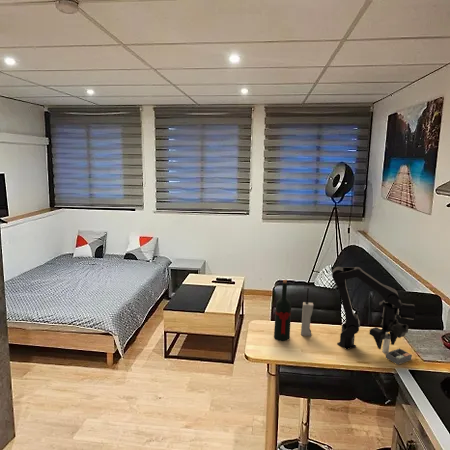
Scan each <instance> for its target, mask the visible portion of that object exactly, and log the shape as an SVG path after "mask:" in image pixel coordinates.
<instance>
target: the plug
mask: <svg viewBox="0 0 450 450" xmlns="http://www.w3.org/2000/svg"><path fill="white" fill-rule="evenodd" d="M384 338H385V339H384V340H383V341H382V349H381V351H382V353H383V354H386V353H388V352H390V344H391V340H390V338H391V334H390V332H388V333H386V336H385V337H384Z"/></svg>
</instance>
